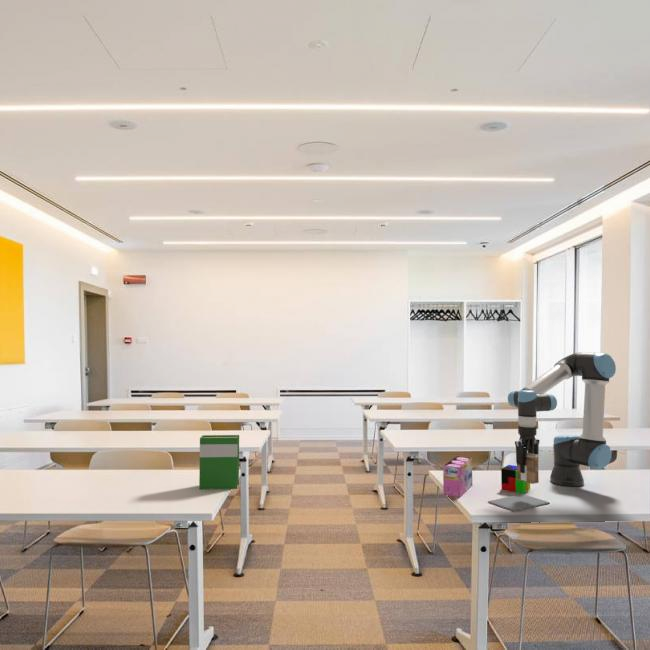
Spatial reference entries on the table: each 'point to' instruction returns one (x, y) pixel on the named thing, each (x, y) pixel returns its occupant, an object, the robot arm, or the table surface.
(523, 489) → the puzzle toy
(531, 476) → the slab
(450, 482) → the gum box
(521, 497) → the mat
